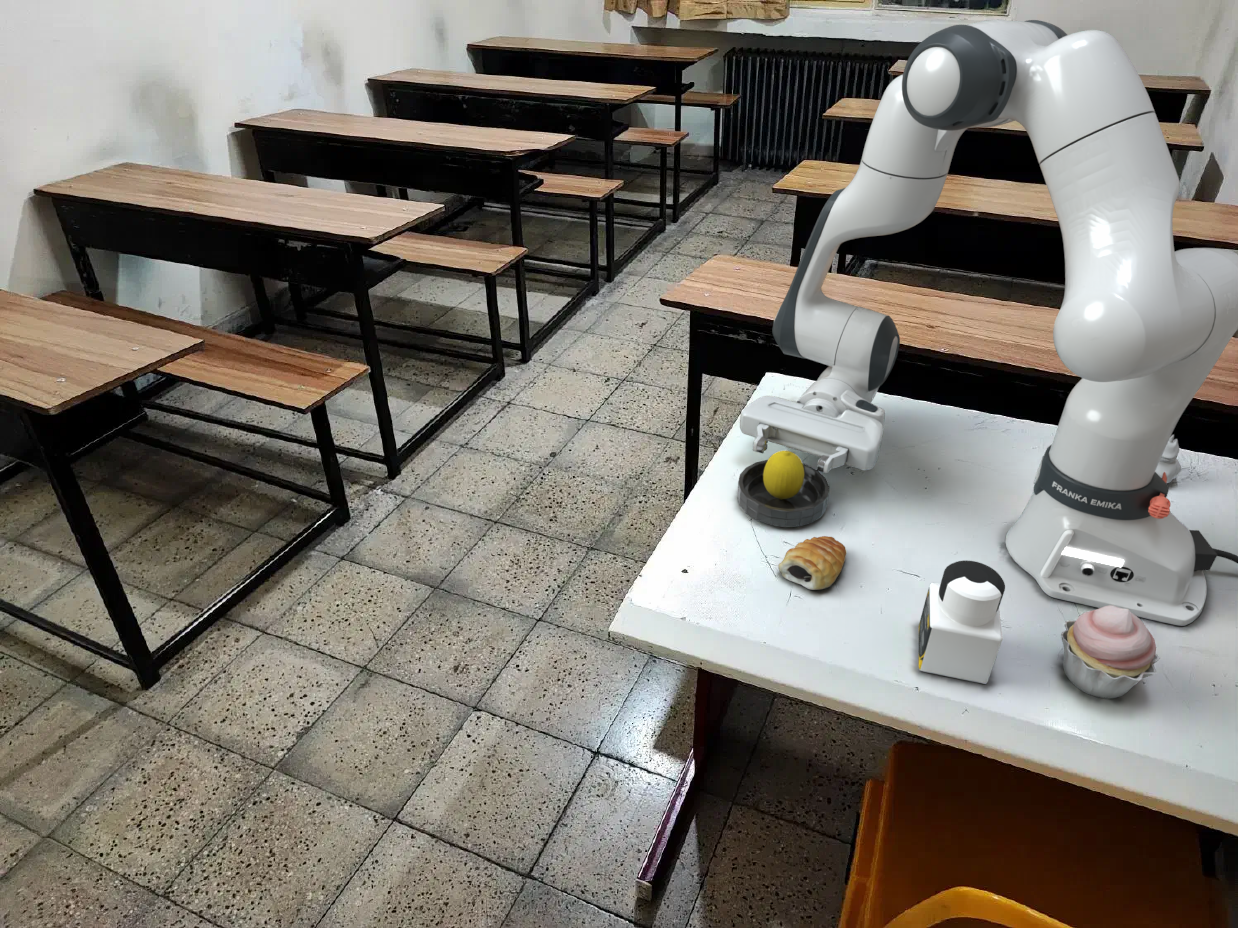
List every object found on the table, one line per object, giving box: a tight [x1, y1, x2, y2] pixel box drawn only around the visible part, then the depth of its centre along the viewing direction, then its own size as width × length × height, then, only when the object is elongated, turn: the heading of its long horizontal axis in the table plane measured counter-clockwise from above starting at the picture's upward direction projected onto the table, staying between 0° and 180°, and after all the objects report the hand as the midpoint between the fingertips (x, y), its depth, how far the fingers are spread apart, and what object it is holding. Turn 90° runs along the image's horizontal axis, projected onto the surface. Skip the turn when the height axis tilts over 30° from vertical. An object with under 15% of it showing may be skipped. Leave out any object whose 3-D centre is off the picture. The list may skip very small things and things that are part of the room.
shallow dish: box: [736, 459, 830, 528], centre depth 115 cm, size 12×12×3 cm
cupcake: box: [1060, 605, 1161, 700], centre depth 86 cm, size 9×9×10 cm
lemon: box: [763, 450, 804, 499], centre depth 113 cm, size 6×6×8 cm
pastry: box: [777, 535, 847, 591], centre depth 103 cm, size 9×7×4 cm
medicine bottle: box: [918, 560, 1006, 685], centre depth 88 cm, size 7×7×12 cm
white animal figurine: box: [1155, 434, 1182, 484], centre depth 117 cm, size 5×7×8 cm
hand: (789, 457), depth 112 cm, fingers open, 8 cm apart
